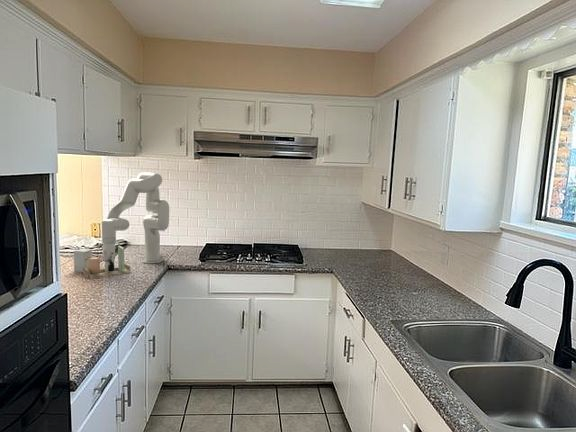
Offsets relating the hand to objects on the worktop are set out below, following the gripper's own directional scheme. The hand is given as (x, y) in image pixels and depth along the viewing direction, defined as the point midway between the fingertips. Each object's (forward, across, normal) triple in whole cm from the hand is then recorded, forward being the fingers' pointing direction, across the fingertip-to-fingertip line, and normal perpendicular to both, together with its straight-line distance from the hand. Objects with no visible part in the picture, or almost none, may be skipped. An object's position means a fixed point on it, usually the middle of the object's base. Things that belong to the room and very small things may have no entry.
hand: (109, 269), depth 244 cm
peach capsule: (+2, 0, -9) cm, 9 cm away
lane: (+2, 0, -2) cm, 2 cm away
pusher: (+2, 0, +8) cm, 8 cm away
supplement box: (+2, -14, -11) cm, 18 cm away
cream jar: (+1, 0, 0) cm, 1 cm away
